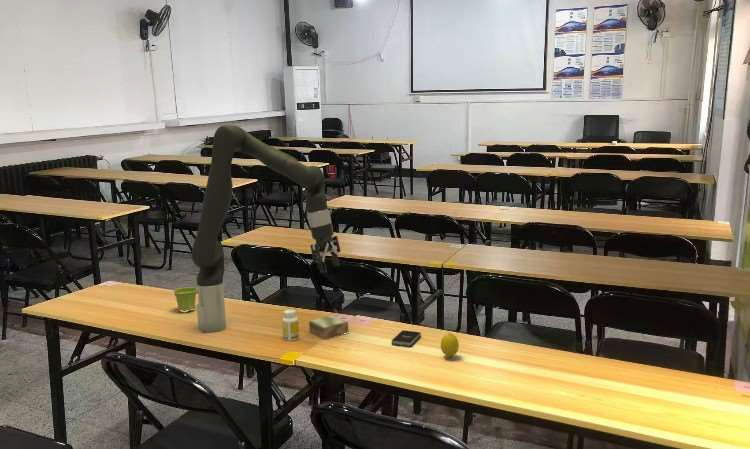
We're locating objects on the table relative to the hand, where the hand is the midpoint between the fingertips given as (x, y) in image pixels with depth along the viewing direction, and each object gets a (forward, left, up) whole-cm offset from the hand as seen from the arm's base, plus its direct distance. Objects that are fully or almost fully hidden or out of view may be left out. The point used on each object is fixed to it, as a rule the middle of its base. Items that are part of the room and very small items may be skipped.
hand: (330, 269), depth 207 cm
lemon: (+17, -42, -24) cm, 51 cm away
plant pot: (-30, +62, -24) cm, 73 cm away
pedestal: (0, +2, -24) cm, 24 cm away
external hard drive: (+16, -22, -24) cm, 36 cm away
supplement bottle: (-13, +6, -24) cm, 28 cm away
